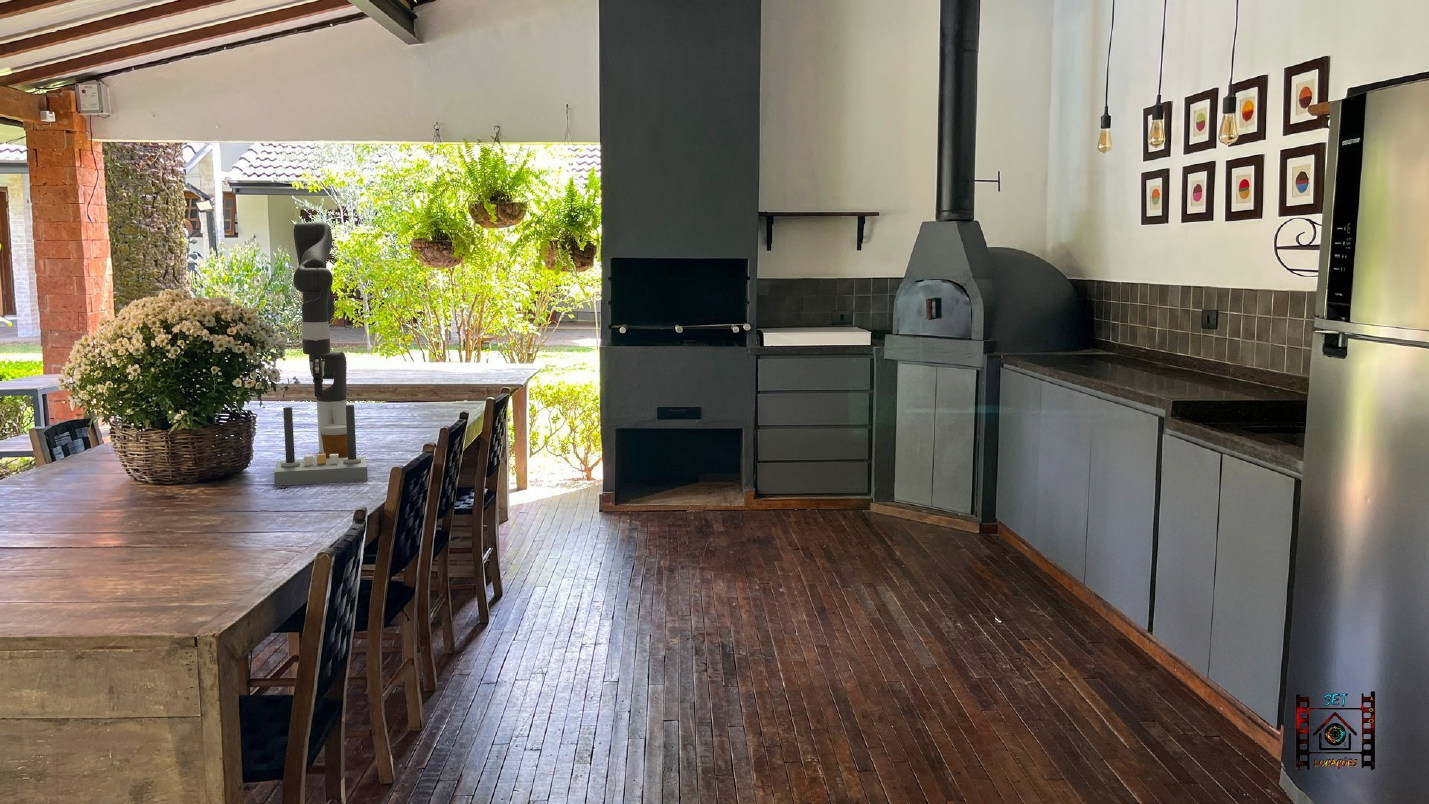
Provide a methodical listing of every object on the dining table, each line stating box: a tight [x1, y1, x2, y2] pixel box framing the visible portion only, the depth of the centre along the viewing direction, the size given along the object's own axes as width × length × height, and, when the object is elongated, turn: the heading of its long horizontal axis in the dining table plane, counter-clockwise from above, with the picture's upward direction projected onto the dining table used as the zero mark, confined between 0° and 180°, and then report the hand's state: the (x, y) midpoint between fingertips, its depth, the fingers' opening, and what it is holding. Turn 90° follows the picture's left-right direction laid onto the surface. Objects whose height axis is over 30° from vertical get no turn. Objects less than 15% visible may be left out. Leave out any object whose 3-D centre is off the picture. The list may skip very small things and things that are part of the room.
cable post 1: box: [281, 406, 300, 467], centre depth 312 cm, size 5×5×17 cm
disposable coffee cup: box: [319, 424, 348, 459], centre depth 334 cm, size 10×10×12 cm
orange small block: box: [316, 453, 326, 464], centre depth 315 cm, size 2×2×3 cm
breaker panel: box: [273, 454, 368, 487], centre depth 316 cm, size 16×25×7 cm, turn 109°
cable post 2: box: [343, 404, 361, 464], centre depth 317 cm, size 5×5×17 cm
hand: (318, 396), depth 315 cm, fingers closed
